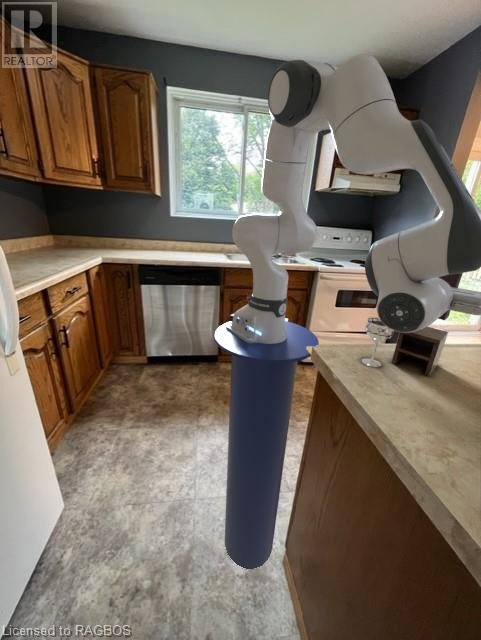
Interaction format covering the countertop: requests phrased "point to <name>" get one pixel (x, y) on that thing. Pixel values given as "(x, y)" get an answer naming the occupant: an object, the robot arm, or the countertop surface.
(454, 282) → the box
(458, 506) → the countertop surface
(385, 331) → the wineglass
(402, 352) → the shelf
